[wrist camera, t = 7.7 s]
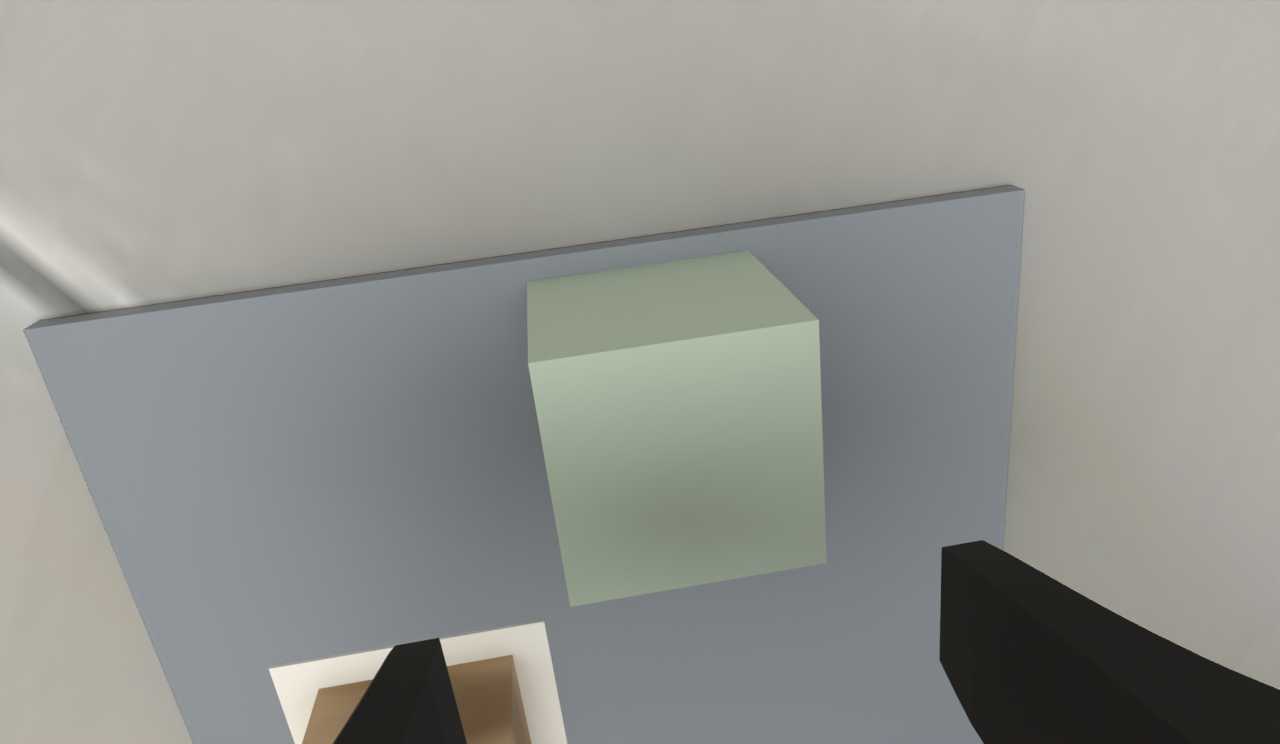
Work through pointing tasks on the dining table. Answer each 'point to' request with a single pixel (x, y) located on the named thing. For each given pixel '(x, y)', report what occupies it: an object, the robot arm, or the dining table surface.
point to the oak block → (479, 695)
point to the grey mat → (543, 488)
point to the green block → (678, 424)
